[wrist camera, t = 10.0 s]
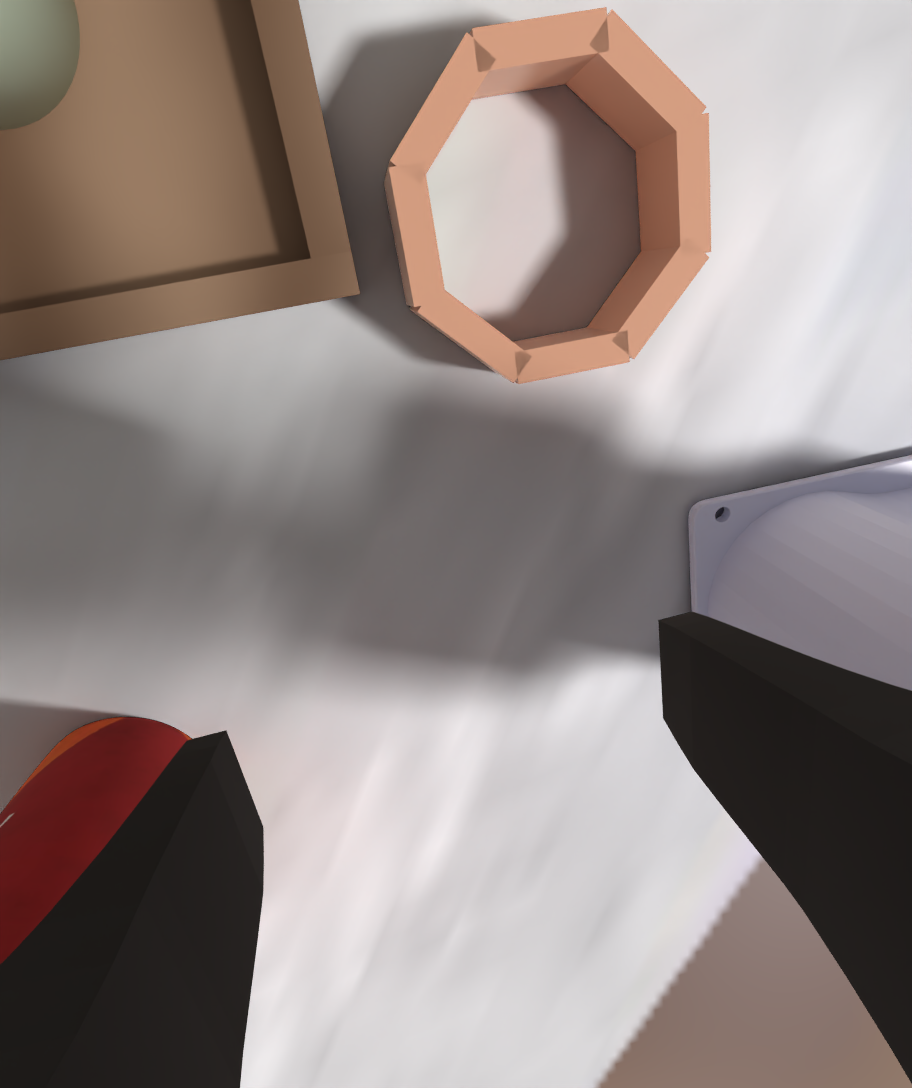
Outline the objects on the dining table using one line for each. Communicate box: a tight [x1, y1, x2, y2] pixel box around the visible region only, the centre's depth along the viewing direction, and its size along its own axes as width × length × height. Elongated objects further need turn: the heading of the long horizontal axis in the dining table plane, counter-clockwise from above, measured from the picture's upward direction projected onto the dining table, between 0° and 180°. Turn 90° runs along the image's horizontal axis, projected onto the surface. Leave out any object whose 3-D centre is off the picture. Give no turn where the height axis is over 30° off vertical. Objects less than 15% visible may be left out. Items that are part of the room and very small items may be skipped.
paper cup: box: [0, 717, 192, 964], centre depth 16 cm, size 8×8×14 cm
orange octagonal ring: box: [384, 7, 711, 384], centre depth 17 cm, size 8×8×2 cm
